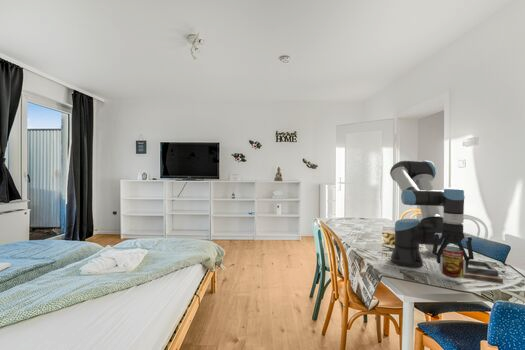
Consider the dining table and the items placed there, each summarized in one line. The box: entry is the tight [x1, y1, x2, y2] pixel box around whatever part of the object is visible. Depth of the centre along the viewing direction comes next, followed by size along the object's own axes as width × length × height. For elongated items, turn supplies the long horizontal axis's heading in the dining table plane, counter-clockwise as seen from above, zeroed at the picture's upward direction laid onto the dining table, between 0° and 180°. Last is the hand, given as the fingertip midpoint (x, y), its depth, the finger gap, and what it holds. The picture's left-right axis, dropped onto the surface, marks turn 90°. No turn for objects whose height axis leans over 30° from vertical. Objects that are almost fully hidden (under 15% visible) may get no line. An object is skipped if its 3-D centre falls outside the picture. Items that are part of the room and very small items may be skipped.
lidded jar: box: [424, 244, 441, 254], centre depth 159 cm, size 11×11×9 cm
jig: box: [462, 259, 504, 283], centre depth 128 cm, size 18×18×4 cm
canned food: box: [440, 245, 464, 279], centre depth 119 cm, size 8×8×12 cm
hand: (451, 272), depth 119 cm, fingers closed on canned food, 8 cm apart
